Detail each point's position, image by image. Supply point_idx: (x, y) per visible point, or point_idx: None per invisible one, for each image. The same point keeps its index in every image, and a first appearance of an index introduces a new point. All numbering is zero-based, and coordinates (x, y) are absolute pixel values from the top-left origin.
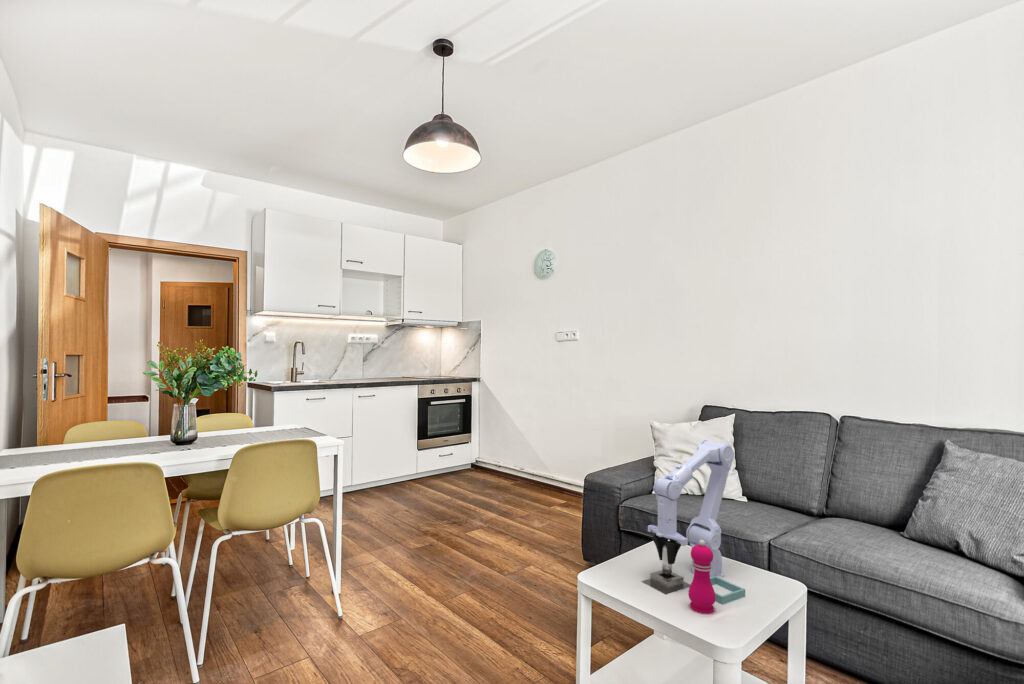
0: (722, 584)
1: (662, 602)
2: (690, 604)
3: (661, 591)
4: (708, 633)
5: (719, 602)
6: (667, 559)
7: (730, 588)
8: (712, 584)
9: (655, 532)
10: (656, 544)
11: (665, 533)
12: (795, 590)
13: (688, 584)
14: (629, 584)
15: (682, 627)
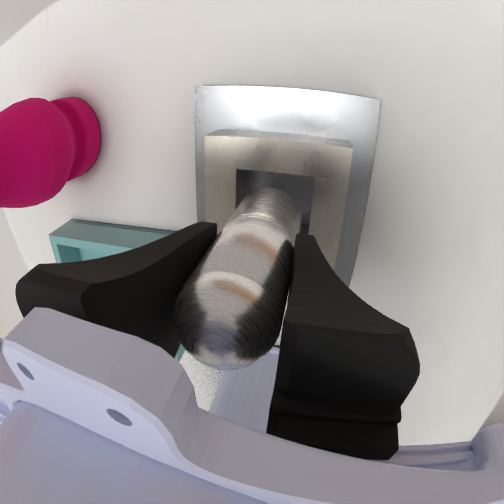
0: None
1: (179, 42)
2: (73, 107)
3: (229, 92)
4: (9, 64)
5: (71, 225)
6: (217, 239)
7: None
8: None
9: (335, 460)
10: (330, 295)
11: (11, 419)
12: None
13: None
14: (412, 54)
15: (46, 9)
